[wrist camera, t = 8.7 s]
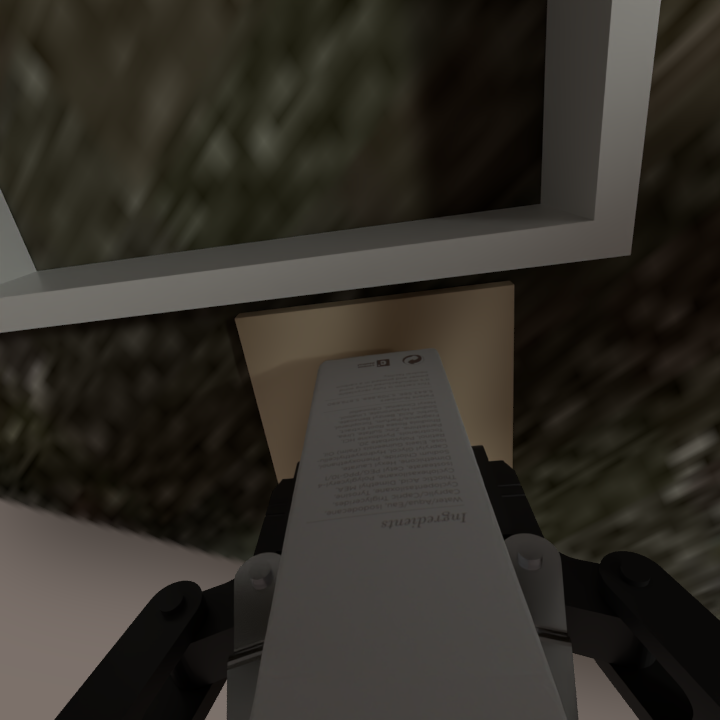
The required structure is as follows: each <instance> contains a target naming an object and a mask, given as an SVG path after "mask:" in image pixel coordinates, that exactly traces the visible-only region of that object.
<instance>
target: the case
mask: <svg viewBox="0 0 720 720" xmlns="http://www.w3.org/2000/svg"><path fill="white" fill-rule="evenodd" d="M660 3H661V0H547V25H546V55H545V86H544V116H543V146H542V176H541V204H535V205H527V206H520V207H513V208H505V209H498V210H490V211H483V212H475V213H468V214H460V215H453V216H445V217H438V218H430V219H423V220H415V221H408V222H401V223H393V224H386V225H378V226H371V227H363V228H356V229H348V230H341V231H333V232H326V233H318V234H311V235H303V236H296V237H289V238H281V239H274V240H266V241H259V242H251V243H244V244H236V245H229V246H221V247H214V248H206V249H199V250H192V251H184V252H177V253H169V254H162V255H154V256H147V257H139V258H132V259H124V260H117V261H109V262H102V263H94V264H87V265H80V266H72V267H65V268H57V269H50V270H42V271H36V269H35V267H34V264H33V262H32V260H31V257H30V255H29V253H28V251H27V248H26V246H25V244H24V242H23V239H22V237H21V235H20V232H19V230H18V228H17V226H16V223H15V221H14V219H13V217H12V214H11V212H10V210H9V207H8V205H7V203H6V201H5V198H4V196H3V194H2V192H1V189H0V333H2V332H10V331H18V330H26V329H34V328H42V327H51V326H59V325H67V324H75V323H83V322H91V321H99V320H107V319H115V318H124V317H132V316H140V315H148V314H156V313H164V312H172V311H180V310H189V309H197V308H205V307H213V306H221V305H229V304H237V303H245V302H253V301H262V300H270V299H278V298H286V297H294V296H302V295H310V294H318V293H327V292H335V291H343V290H351V289H359V288H367V287H375V286H383V285H391V284H400V283H408V282H416V281H424V280H432V279H440V278H448V277H456V276H465V275H473V274H481V273H489V272H497V271H505V270H513V269H521V268H529V267H538V266H546V265H554V264H562V263H570V262H578V261H586V260H594V259H603V258H611V257H619V256H627V255H631V248H632V239H633V231H634V222H635V214H636V205H637V197H638V189H639V180H640V172H641V163H642V155H643V146H644V138H645V129H646V121H647V112H648V104H649V96H650V87H651V79H652V70H653V62H654V53H655V45H656V36H657V28H658V20H659V11H660Z"/></svg>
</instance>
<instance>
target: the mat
mask: <svg viewBox="0 0 720 720" xmlns="http://www.w3.org/2000/svg"><path fill="white" fill-rule="evenodd" d="M235 322H236V326H237V329H238V333H239V337H240V341H241V344H242V348H243V352H244V356H245V360H246V363H247V367H248V371H249V375H250V378H251V382H252V386H253V390H254V394H255V397H256V401H257V405H258V409H259V412H260V416H261V420H262V424H263V427H264V431H265V435H266V439H267V443H268V446H269V450H270V454H271V458H272V461H273V465H274V469H275V473H276V477H277V480H278V484H279V483H280V482H281V480H282V479H290V478H294V474H295V470H296V466H297V463H298V461H300V459H301V454H302V450H303V445H304V440H305V434H306V429H307V424H308V419H309V414H310V408H311V403H312V398H313V392H314V387H315V383H316V378H317V373H318V369H319V366H320V365H321V364H322V363H323V362H324V361H327V360H334V359H343V358H349V357H357V356H365V355H375V354H383V353H390V352H399V351H410V350H419V349H427V348H434V349H436V350H437V351H438V353H439V356H440V358H441V361H442V364H443V367H444V369H445V372H446V375H447V378H448V380H449V383H450V386H451V389H452V392H453V395H454V398H455V401H456V404H457V407H458V410H459V413H460V415H461V418H462V421H463V424H464V427H465V430H466V433H467V436H468V438H469V441H470V444H471V446H477V445H483V446H484V449H485V452H486V454H487V457H488V460H489V461H497V460H503V461H504V462H505V463H507V464H508V465H509V466H510V467H511V468H512V465H513V372H514V284H513V283H512V282H511V281H510V280H509V281H501V282H493V283H484V284H476V285H468V286H460V287H451V288H443V289H435V290H427V291H418V292H410V293H402V294H394V295H385V296H377V297H369V298H361V299H353V300H344V301H336V302H328V303H320V304H311V305H303V306H295V307H287V308H278V309H270V310H262V311H254V312H245V313H239V314H238V315H237V316H236V318H235Z"/></svg>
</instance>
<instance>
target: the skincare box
mask: <svg viewBox="0 0 720 720" xmlns="http://www.w3.org/2000/svg"><path fill="white" fill-rule="evenodd" d="M250 720H567V718H566V715H565V712H564V709H563V706H562V703H561V699H560V697H559V694H558V691H557V688H556V685H555V682H554V679H553V677H552V674H551V671H550V668H549V665H548V662H547V659H546V657H545V654H544V651H543V648H542V645H541V642H540V639H539V637H538V634H537V631H536V628H535V625H534V622H533V620H532V617H531V614H530V611H529V609H528V606H527V603H526V600H525V598H524V595H523V592H522V590H521V587H520V584H519V581H518V578H517V576H516V573H515V570H514V567H513V564H512V561H511V559H510V556H509V553H508V550H507V547H506V545H505V542H504V539H503V536H502V533H501V531H500V528H499V525H498V522H497V519H496V517H495V514H494V511H493V508H492V505H491V502H490V500H489V497H488V494H487V491H486V488H485V486H484V482H483V479H482V476H481V474H480V470H479V467H478V465H477V462H476V459H475V456H474V453H473V450H472V447H471V444H470V441H469V438H468V436H467V433H466V430H465V427H464V424H463V421H462V418H461V415H460V413H459V410H458V407H457V404H456V401H455V398H454V395H453V392H452V389H451V386H450V383H449V380H448V378H447V375H446V372H445V369H444V367H443V364H442V361H441V358H440V356H439V353H438V351H437V350H436V349H434V348H427V349H419V350H410V351H399V352H390V353H383V354H375V355H365V356H357V357H349V358H343V359H334V360H327V361H324V362H323V363H322V364H321V365H320V366H319V369H318V373H317V378H316V383H315V387H314V392H313V398H312V403H311V408H310V414H309V419H308V424H307V429H306V434H305V440H304V445H303V450H302V454H301V459H300V464H299V468H298V473H297V478H296V483H295V488H294V493H293V497H292V503H291V508H290V513H289V518H288V523H287V528H286V533H285V538H284V543H283V549H282V554H281V559H280V563H279V568H278V573H277V579H276V584H275V590H274V595H273V601H272V606H271V611H270V616H269V620H268V626H267V631H266V636H265V641H264V646H263V651H262V656H261V662H260V667H259V673H258V680H257V686H256V691H255V696H254V701H253V706H252V710H251V715H250Z"/></svg>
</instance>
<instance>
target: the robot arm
mask: <svg viewBox="0 0 720 720" xmlns="http://www.w3.org/2000/svg"><path fill="white" fill-rule="evenodd" d="M471 447H472V450H473V453H474V456H475V459H476V462H477V465H478V467H479V470H480V474H481V476H482V479H483V482H484V486H485V488H486V491H487V494H488V497H489V500H490V502H491V505H492V508H493V511H494V514H495V517H496V519H497V522H498V525H499V528H500V531H501V533H502V536H503V539H504V542H505V545H506V547H507V550H508V553H509V556H510V559H511V561H512V564H513V567H514V570H515V573H516V576H517V578H518V581H519V584H520V587H521V590H522V592H523V595H524V598H525V600H526V603H527V606H528V609H529V611H530V614H531V617H532V620H533V622H534V625H535V628H536V631H537V634H538V637H539V639H540V642H541V645H542V648H543V651H544V654H545V657H546V659H547V662H548V665H549V668H550V671H551V674H552V677H553V679H554V682H555V685H556V688H557V691H558V694H559V697H560V699H561V703H562V706H563V709H564V712H565V715H566V718H567V720H578V710H577V698H576V687H575V677H574V665H573V654H572V653H575V654H579V655H583V656H586V657H590V658H594V659H595V661H596V663H597V664H598V665H599V667H600V668H601V669H602V671H603V672H604V673H605V675H606V676H607V677H608V679H609V680H610V681H611V683H612V684H613V685H614V687H615V688H616V689H617V691H618V692H619V693H620V694H621V696H622V697H623V699H624V700H625V701H626V702H627V704H628V705H629V707H630V708H631V709H632V710H633V712H634V713H635V714H636V716H637V717H638V718H639V720H720V620H718V619H717V618H716V617H715V616H714V615H713V614H712V613H711V612H710V611H709V610H707V609H706V608H705V607H704V606H703V605H702V604H701V603H700V602H699V601H698V600H696V599H695V598H694V597H693V596H692V595H691V594H690V593H689V592H688V591H687V590H685V589H684V588H683V587H682V586H681V585H680V584H679V583H678V582H677V581H676V580H674V579H673V578H672V577H671V576H670V575H669V574H668V573H667V572H666V571H665V570H663V569H662V568H661V567H660V566H659V565H658V564H656V563H655V562H654V561H652V560H650V559H649V558H647V557H645V556H642V555H640V554H637V553H633V552H627V551H618V552H613V553H610V554H608V555H606V556H605V557H604V558H603V559H602V560H601V563H600V564H598V563H593V562H588V561H583V560H578V559H574V558H571V557H568V556H566V555H564V554H562V553H560V552H558V550H557V549H556V548H555V547H554V545H553V544H551V543H550V542H549V541H547V540H546V539H545V538H544V537H543V535H542V532H541V530H540V528H539V525H538V523H537V521H536V519H535V516H534V514H533V512H532V509H531V507H530V505H529V503H528V500H527V498H526V496H525V493H524V491H523V489H522V486H520V482H519V480H518V477H517V475H516V473H515V471H514V470H513V469H512V468H511V467H510V466H509V465H508V464H507V463H505V462H504V461H503V460H497V461H489V460H488V457H487V454H486V452H485V449H484V446H483V445H477V446H471ZM299 464H300V461H298V463H297V466H296V470H295V474H294V478H290V479H282V480H281V482H280V483H279V484H278V485H277V486H276V488H275V489H274V490H273V492H272V495H271V499H270V502H269V506H268V509H267V512H266V517H265V519H264V522H263V526H262V529H261V532H260V536H259V539H258V543H257V546H256V549H255V553H254V556H253V557H252V558H250V559H248V560H247V561H246V562H245V563H244V564H243V565H242V566H241V567H240V568H239V570H238V571H237V573H236V575H235V578H234V579H233V580H231V581H229V582H227V583H225V584H222V585H219V586H216V587H214V588H211V589H208V590H205V591H201V588H200V587H199V586H198V584H196V583H195V582H191V581H179V582H176V583H173V584H171V585H168V586H167V587H165V588H163V589H162V590H160V591H159V592H158V593H157V594H156V595H155V596H154V597H153V598H152V599H151V600H150V602H149V603H148V604H147V605H146V607H145V608H144V609H143V610H142V611H141V613H140V614H139V615H138V616H137V618H136V619H135V620H134V621H133V623H132V624H131V625H130V626H129V628H128V629H127V630H126V631H125V633H124V634H123V635H122V636H121V638H120V639H119V640H118V641H117V643H116V644H115V645H114V646H113V648H112V649H111V650H110V651H109V652H108V654H107V655H106V656H105V658H104V659H103V660H102V661H101V662H100V664H99V665H98V666H97V667H96V669H95V670H94V671H93V672H92V674H91V675H90V676H89V677H88V679H87V680H86V681H85V682H84V684H83V685H82V686H81V687H80V688H79V690H78V691H77V692H76V693H75V695H74V696H73V697H72V698H71V700H70V701H69V702H68V703H67V705H66V706H65V707H64V709H63V710H62V711H61V712H60V714H59V715H58V716H57V717H56V718H55V720H205V718H206V716H207V715H208V713H209V711H210V709H211V707H212V706H213V704H214V702H215V700H216V698H217V696H218V695H219V693H220V691H221V689H222V687H223V686H224V683H225V682H226V680H227V720H250V715H251V710H252V706H253V701H254V696H255V691H256V686H257V680H258V673H259V667H260V662H261V656H262V651H263V646H264V641H265V636H266V631H267V626H268V620H269V616H270V611H271V606H272V601H273V595H274V590H275V584H276V579H277V573H278V568H279V563H280V559H281V554H282V549H283V543H284V538H285V533H286V528H287V523H288V518H289V513H290V508H291V503H292V497H293V493H294V488H295V483H296V478H297V473H298V468H299Z"/></svg>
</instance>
